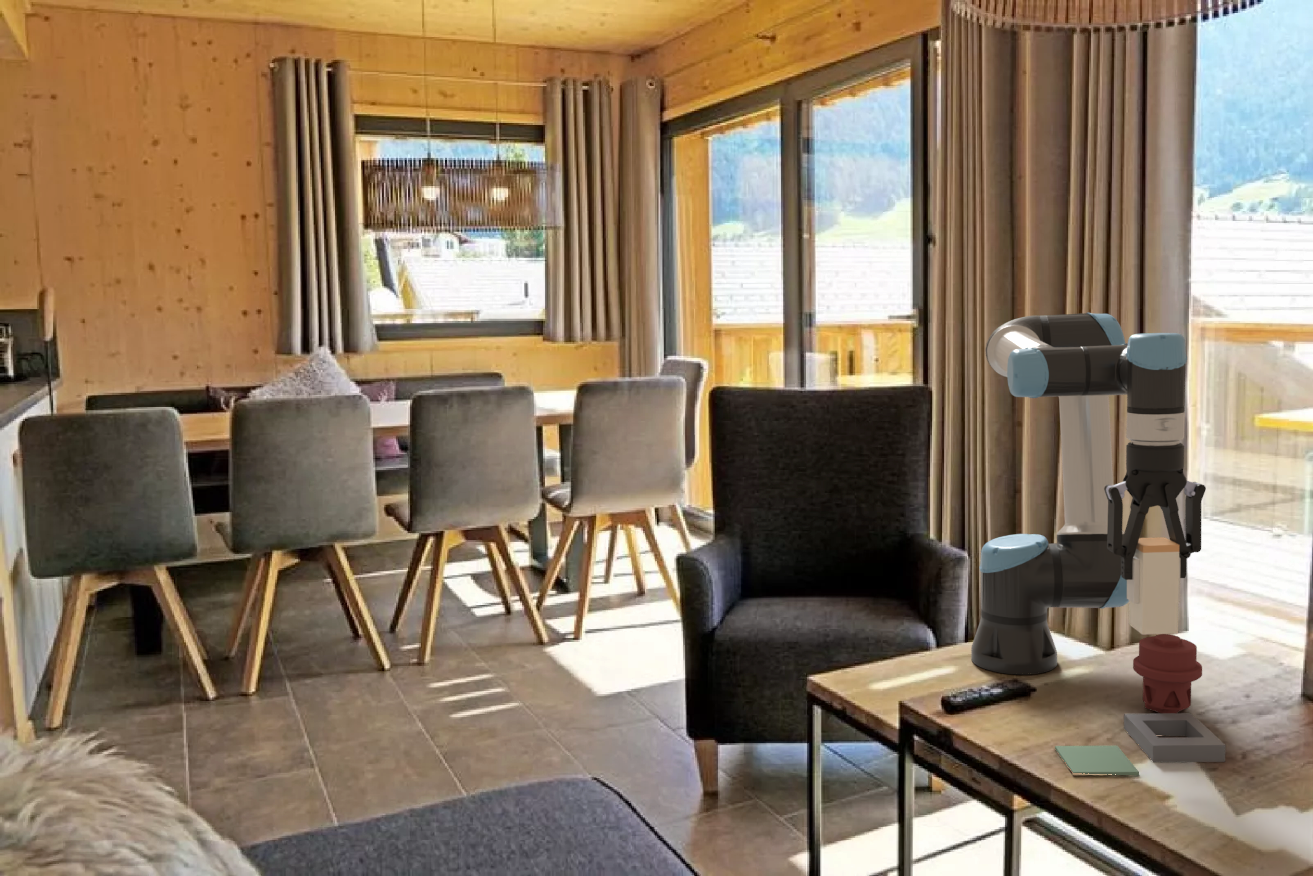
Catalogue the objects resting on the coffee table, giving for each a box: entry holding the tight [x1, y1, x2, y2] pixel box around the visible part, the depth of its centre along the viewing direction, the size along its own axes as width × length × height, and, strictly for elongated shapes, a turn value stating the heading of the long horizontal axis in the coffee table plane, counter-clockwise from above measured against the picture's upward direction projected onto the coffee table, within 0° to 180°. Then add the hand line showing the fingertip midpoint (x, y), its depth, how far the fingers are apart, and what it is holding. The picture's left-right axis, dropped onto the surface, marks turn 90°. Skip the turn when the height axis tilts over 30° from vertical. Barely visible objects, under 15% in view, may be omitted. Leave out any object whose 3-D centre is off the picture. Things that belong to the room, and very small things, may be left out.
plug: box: [1128, 536, 1179, 635], centre depth 155 cm, size 5×5×13 cm
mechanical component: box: [1132, 634, 1203, 713], centre depth 172 cm, size 12×10×10 cm
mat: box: [1054, 745, 1140, 776], centre depth 155 cm, size 9×9×1 cm
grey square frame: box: [1123, 712, 1226, 763], centre depth 160 cm, size 12×10×2 cm
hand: (1152, 600), depth 156 cm, fingers closed on plug, 5 cm apart
